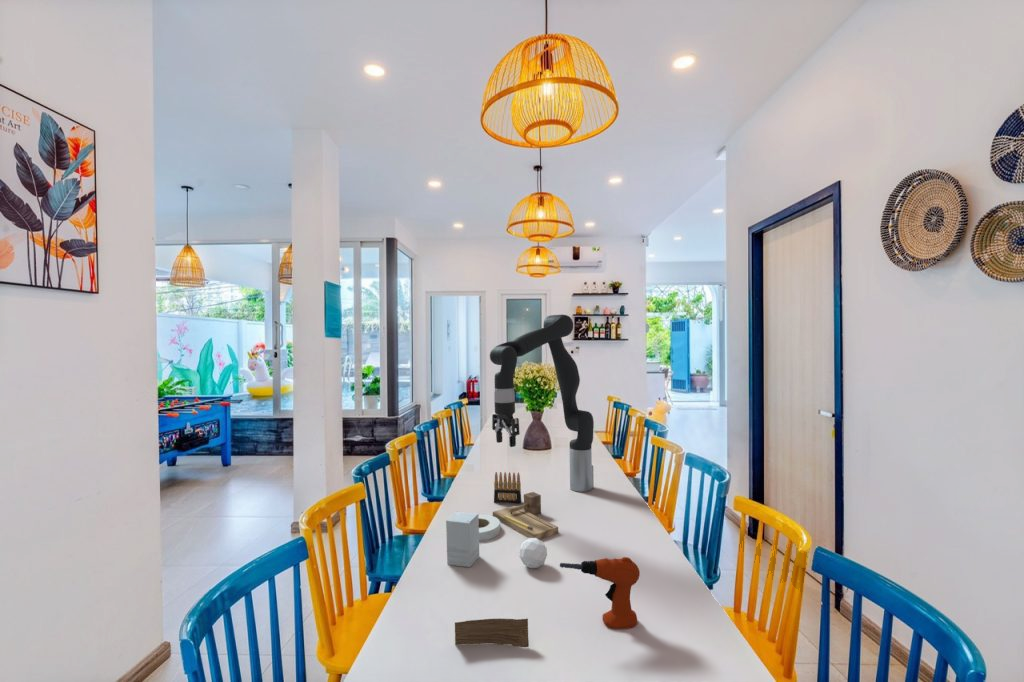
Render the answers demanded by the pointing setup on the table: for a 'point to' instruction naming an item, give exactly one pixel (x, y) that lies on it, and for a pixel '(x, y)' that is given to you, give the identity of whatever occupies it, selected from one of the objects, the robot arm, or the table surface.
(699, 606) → the table surface
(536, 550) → the ball
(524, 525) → the pencil
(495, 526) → the roll of tape
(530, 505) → the block on a post
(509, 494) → the ammunition clip
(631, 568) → the toy drill
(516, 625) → the wood plank
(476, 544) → the supplement box
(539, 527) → the board
